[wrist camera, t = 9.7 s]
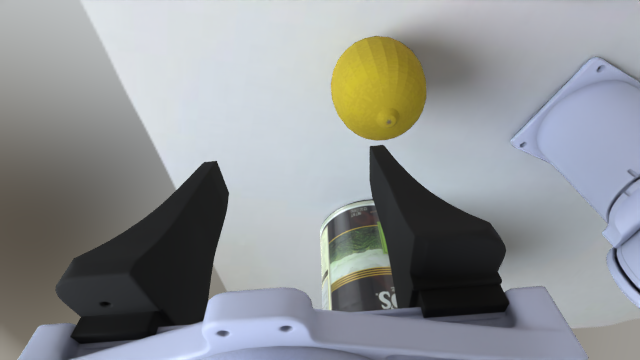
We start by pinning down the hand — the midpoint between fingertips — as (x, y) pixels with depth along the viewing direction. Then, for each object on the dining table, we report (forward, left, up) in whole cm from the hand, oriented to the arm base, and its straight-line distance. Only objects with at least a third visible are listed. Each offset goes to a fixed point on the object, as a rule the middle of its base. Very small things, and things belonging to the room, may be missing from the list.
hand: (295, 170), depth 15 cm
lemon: (-4, -3, -11) cm, 12 cm away
